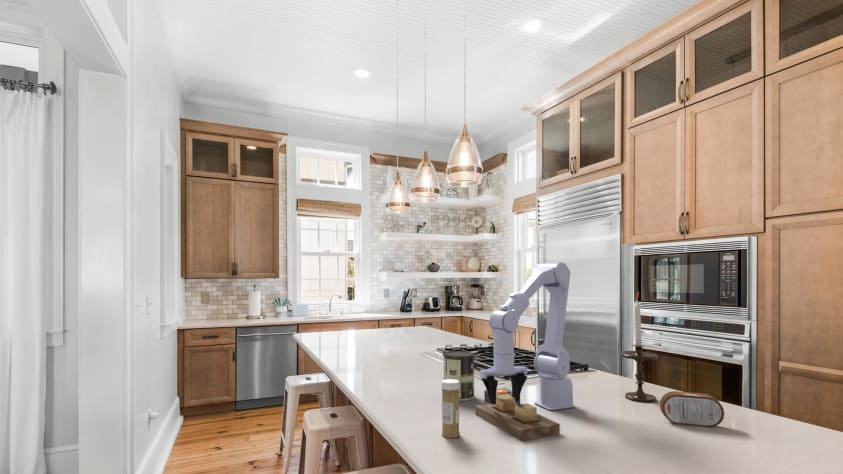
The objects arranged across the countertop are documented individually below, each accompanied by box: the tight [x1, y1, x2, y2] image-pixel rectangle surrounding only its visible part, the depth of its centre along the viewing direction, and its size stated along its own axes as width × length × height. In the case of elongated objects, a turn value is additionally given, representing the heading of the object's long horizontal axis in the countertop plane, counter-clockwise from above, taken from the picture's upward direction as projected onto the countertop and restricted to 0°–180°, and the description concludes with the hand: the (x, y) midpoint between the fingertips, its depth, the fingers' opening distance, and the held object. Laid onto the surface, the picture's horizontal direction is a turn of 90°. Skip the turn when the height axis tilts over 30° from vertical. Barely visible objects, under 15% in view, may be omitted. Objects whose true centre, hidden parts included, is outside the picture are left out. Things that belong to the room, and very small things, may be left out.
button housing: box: [483, 387, 521, 405], centre depth 139 cm, size 8×8×4 cm
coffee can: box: [442, 350, 475, 402], centre depth 147 cm, size 10×10×14 cm
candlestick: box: [620, 290, 658, 404], centre depth 146 cm, size 11×11×35 cm
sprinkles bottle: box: [441, 379, 461, 439], centre depth 112 cm, size 5×5×13 cm
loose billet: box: [495, 394, 515, 413], centre depth 125 cm, size 4×4×6 cm
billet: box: [515, 402, 538, 424], centre depth 116 cm, size 4×4×6 cm
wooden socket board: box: [474, 403, 561, 442], centre depth 120 cm, size 12×22×2 cm, turn 23°
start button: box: [496, 388, 508, 395], centre depth 139 cm, size 4×4×2 cm
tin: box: [659, 390, 725, 428], centre depth 120 cm, size 15×3×8 cm, turn 72°
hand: (504, 401), depth 125 cm, fingers open, 7 cm apart
